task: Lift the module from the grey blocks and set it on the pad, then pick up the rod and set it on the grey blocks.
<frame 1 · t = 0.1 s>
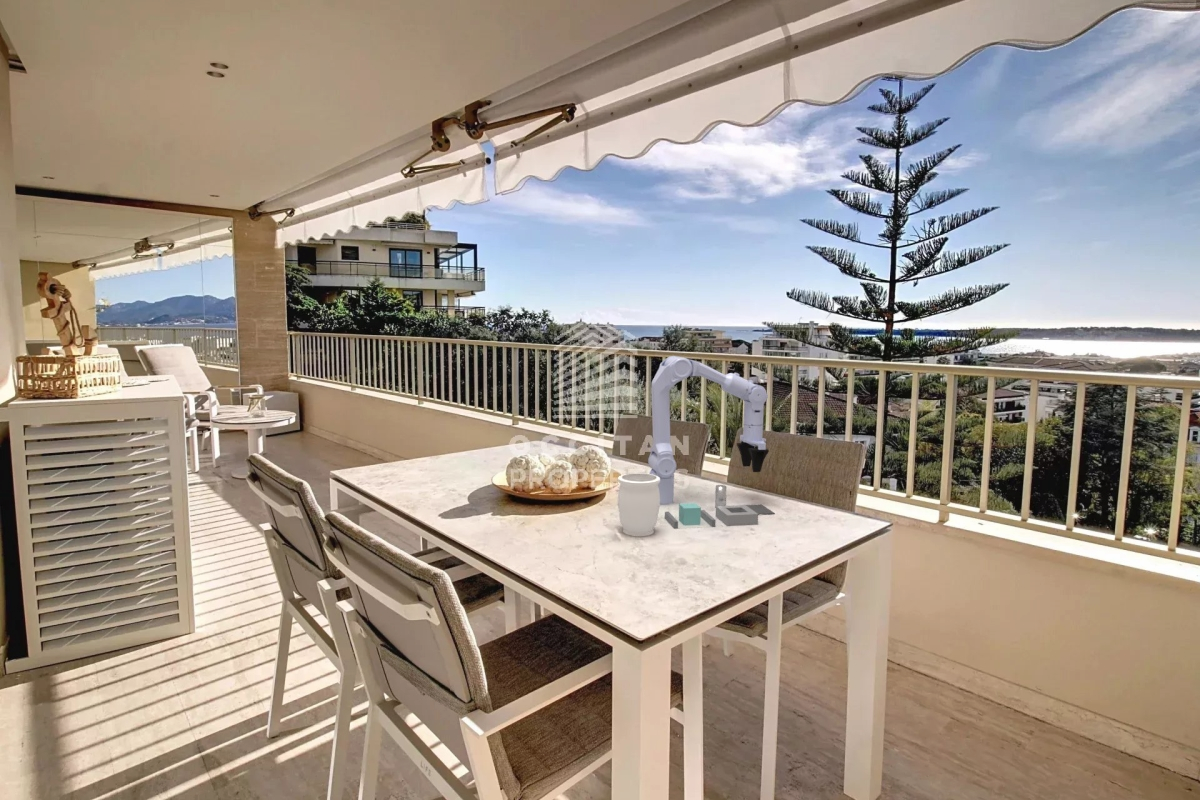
hand: (751, 468, 191), 10 cm above the table, tool pointing down, fingers open, 7 cm apart
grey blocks: (711, 525, 169), on the table
pad: (753, 510, 183), on the table
module: (689, 522, 168), point 1 cm above the table, touching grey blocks
jar: (638, 536, 160), on the table
rod: (720, 511, 182), on the table
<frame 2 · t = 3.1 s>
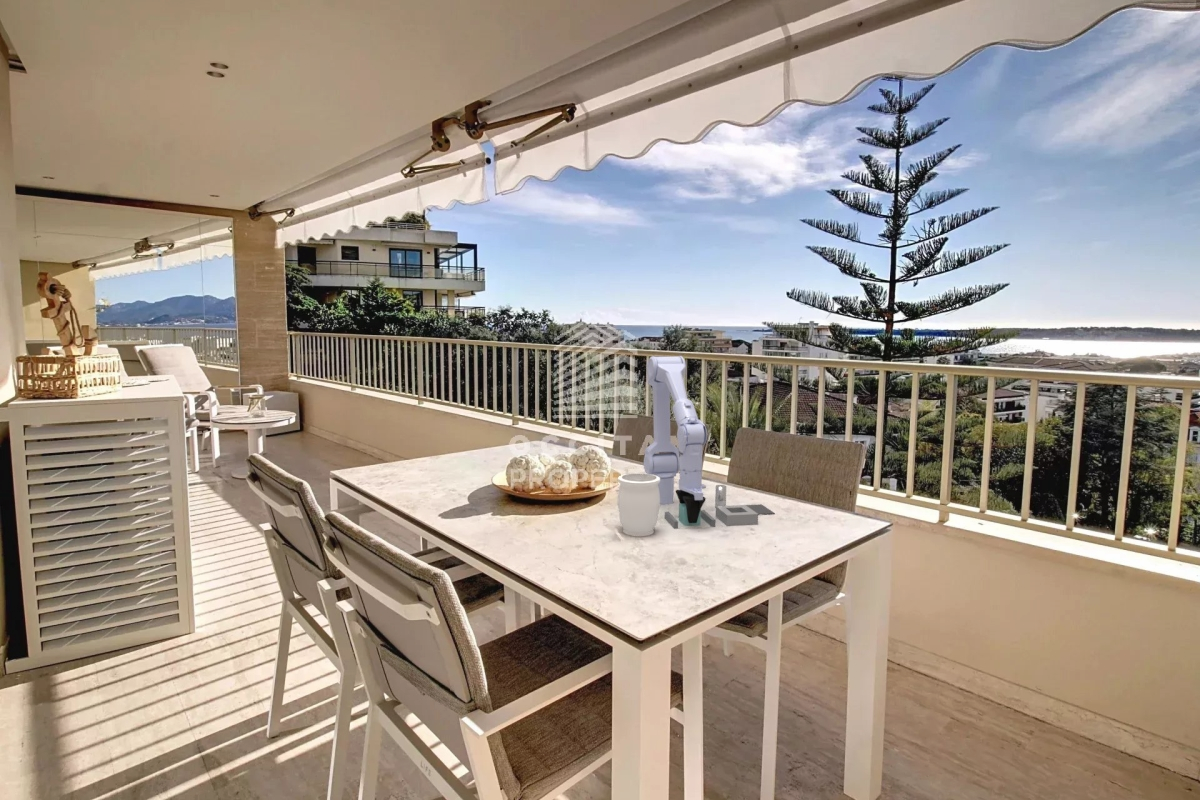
hand: (689, 519, 168), 2 cm above the table, tool pointing down, fingers closed on module, 4 cm apart
module: (689, 522, 168), point 1 cm above the table, touching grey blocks, gripper
everything else where it was.
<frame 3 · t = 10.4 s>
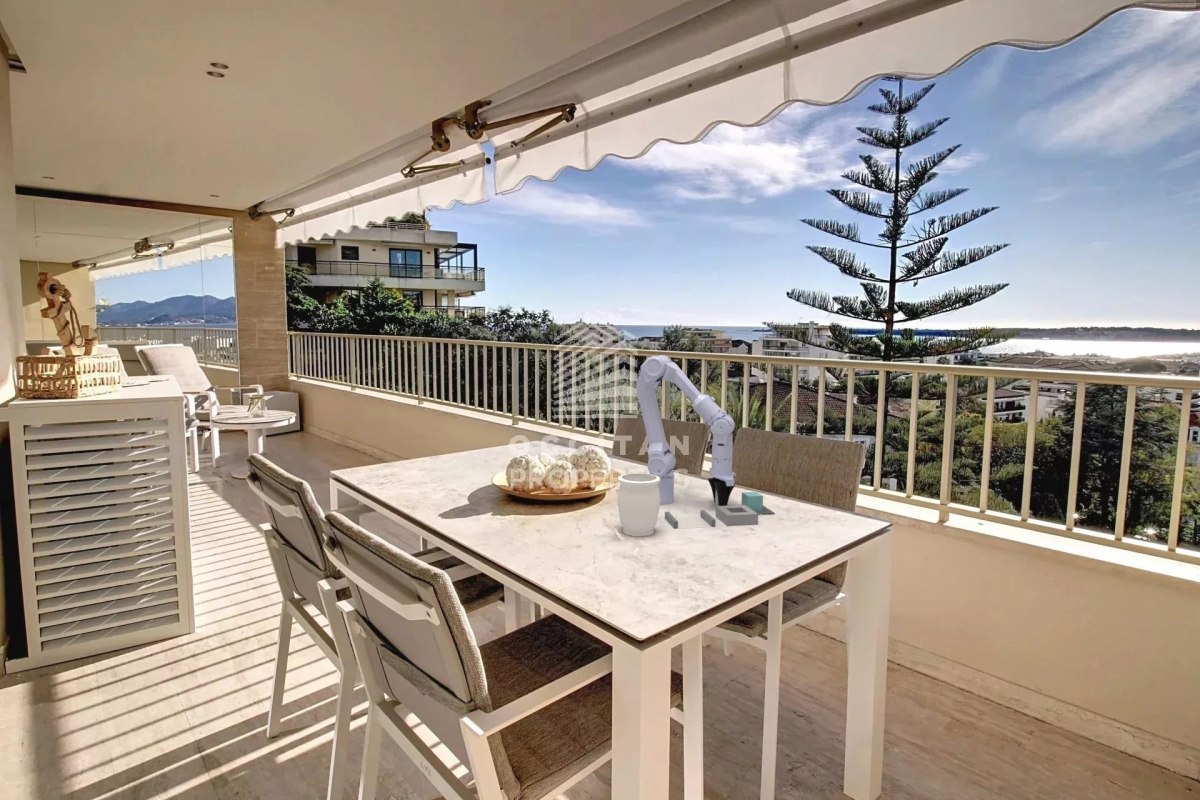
hand: (720, 504, 181), 2 cm above the table, tool pointing down, fingers closed on rod, 3 cm apart
module: (751, 509, 183), resting on pad
rod: (720, 511, 182), on the table, touching gripper
everything else where it was.
when the fingers open (5 cm above the table, at t = 13.9 s): rod drops 1 cm, resting on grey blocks.
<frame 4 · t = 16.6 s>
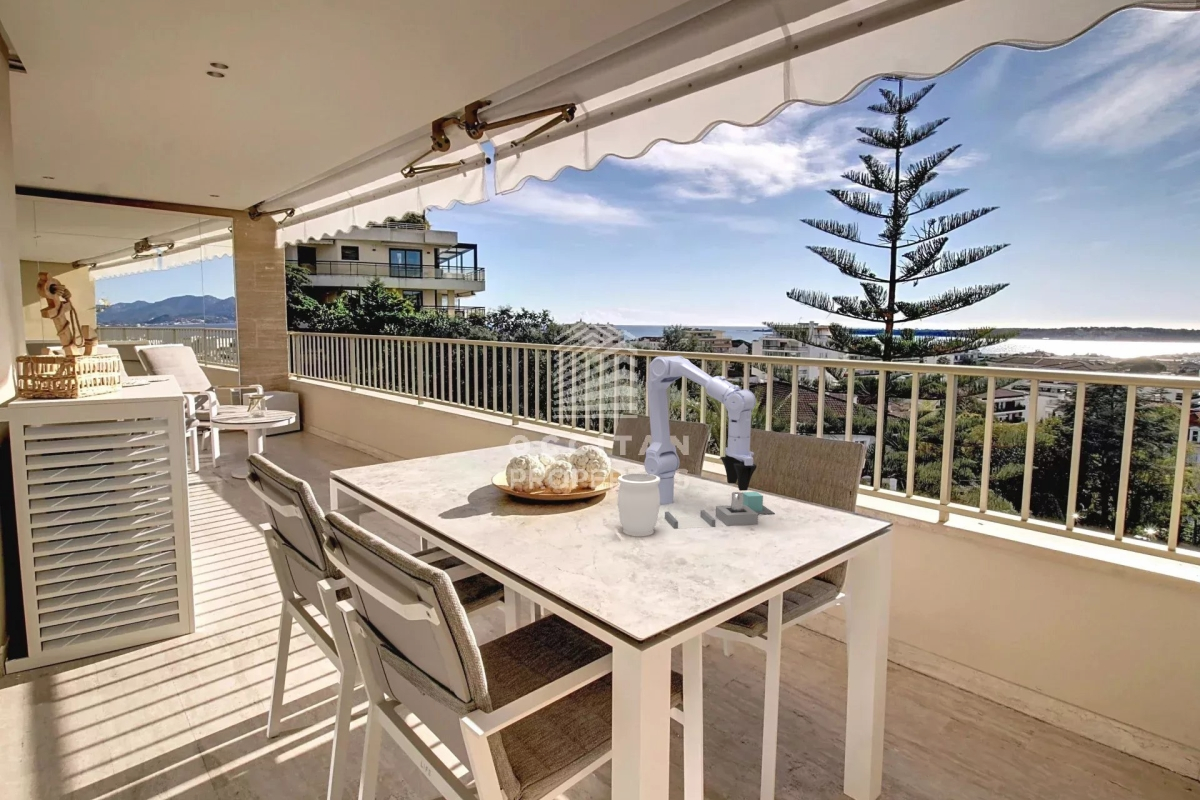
hand: (737, 486, 169), 10 cm above the table, tool pointing down, fingers open, 7 cm apart
rod: (736, 520, 170), point 1 cm above the table, touching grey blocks
everything else where it was.
at the end: rod 0.1 cm from the target spot on the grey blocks, point 1.0 cm above the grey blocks's base; module inside the target area on the pad (0.5 cm from its centre), point 0.3 cm above the pad's base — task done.
